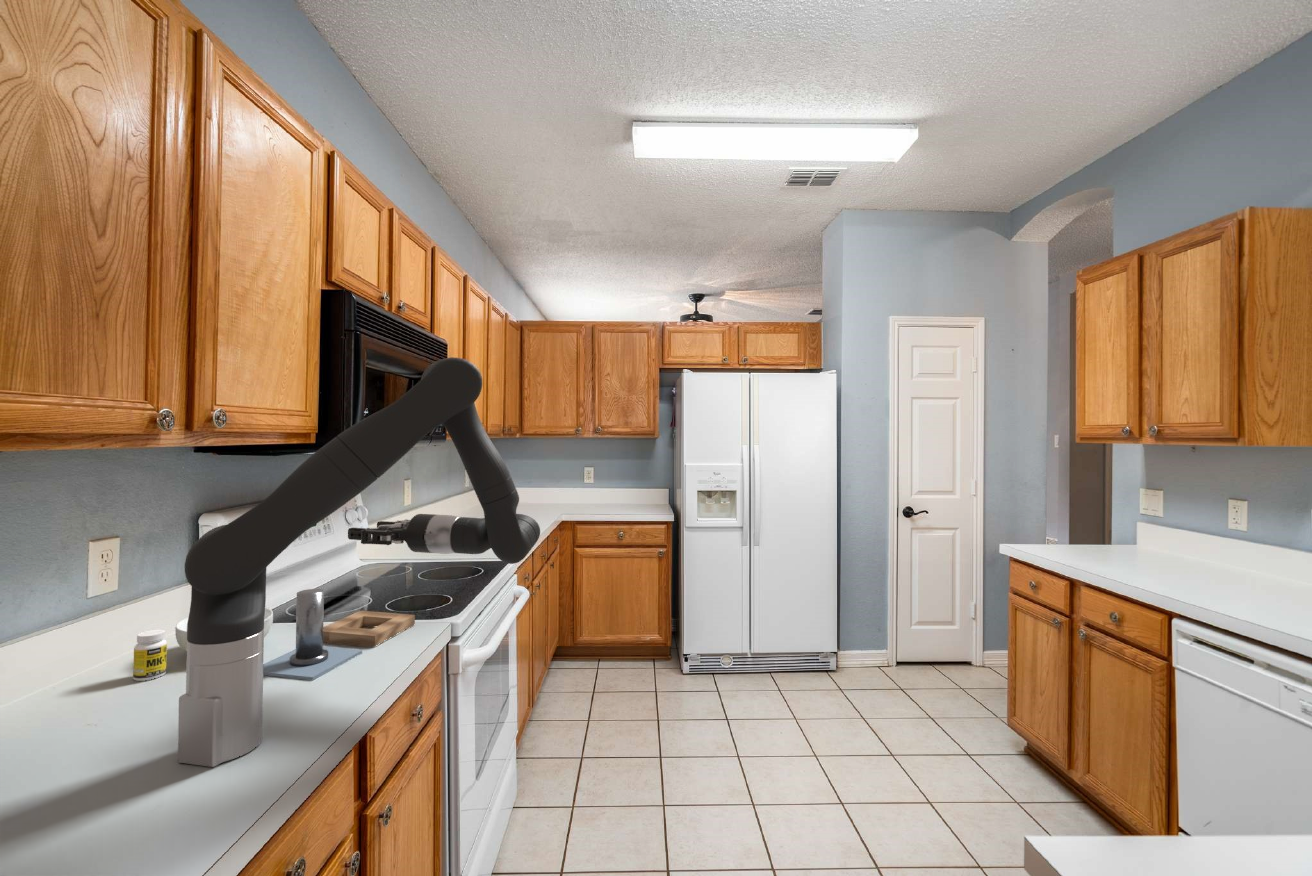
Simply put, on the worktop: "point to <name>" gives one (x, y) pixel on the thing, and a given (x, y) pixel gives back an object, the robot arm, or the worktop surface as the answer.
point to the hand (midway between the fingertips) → (363, 529)
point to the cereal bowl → (182, 625)
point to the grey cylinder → (309, 629)
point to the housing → (353, 634)
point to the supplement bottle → (150, 655)
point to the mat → (284, 669)
